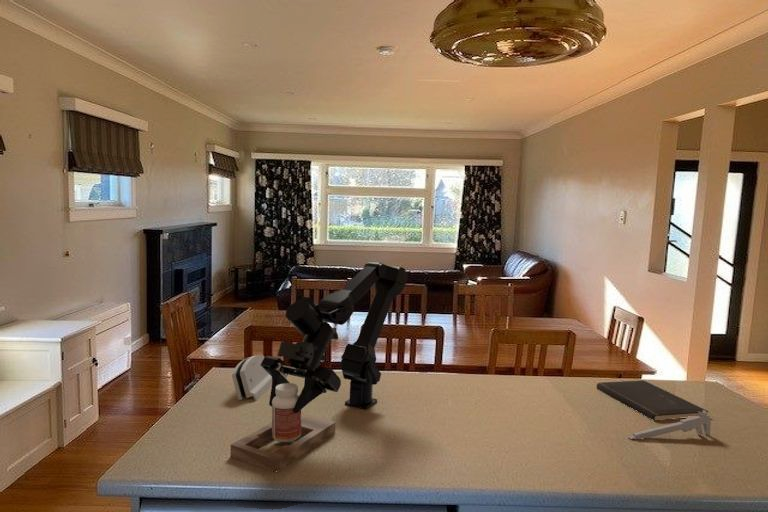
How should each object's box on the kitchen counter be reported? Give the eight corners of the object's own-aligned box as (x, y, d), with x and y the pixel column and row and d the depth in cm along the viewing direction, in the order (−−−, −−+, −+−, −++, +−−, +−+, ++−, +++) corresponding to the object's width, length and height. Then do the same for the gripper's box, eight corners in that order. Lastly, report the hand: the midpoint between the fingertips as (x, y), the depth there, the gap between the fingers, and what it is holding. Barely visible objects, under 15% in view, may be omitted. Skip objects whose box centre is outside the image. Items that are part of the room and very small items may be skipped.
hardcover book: (643, 387, 149) (643, 380, 148) (707, 419, 126) (708, 411, 126) (596, 390, 145) (596, 382, 145) (653, 423, 123) (654, 414, 123)
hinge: (256, 401, 129) (243, 365, 129) (239, 405, 130) (227, 370, 129) (277, 379, 146) (266, 347, 145) (263, 383, 146) (252, 352, 146)
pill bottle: (307, 436, 106) (307, 387, 105) (282, 446, 102) (282, 394, 101) (290, 427, 110) (290, 379, 109) (266, 435, 106) (266, 386, 105)
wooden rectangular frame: (293, 420, 118) (293, 410, 117) (335, 432, 112) (335, 422, 112) (230, 456, 100) (230, 444, 100) (276, 472, 94) (276, 460, 94)
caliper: (706, 435, 116) (708, 409, 116) (709, 437, 115) (712, 411, 115) (627, 439, 113) (629, 412, 113) (630, 441, 112) (632, 414, 112)
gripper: (265, 320, 112) (229, 383, 103) (333, 332, 103) (300, 401, 94) (288, 346, 119) (256, 406, 111) (353, 359, 110) (324, 425, 102)
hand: (282, 409), depth 104 cm, fingers closed on pill bottle, 6 cm apart
